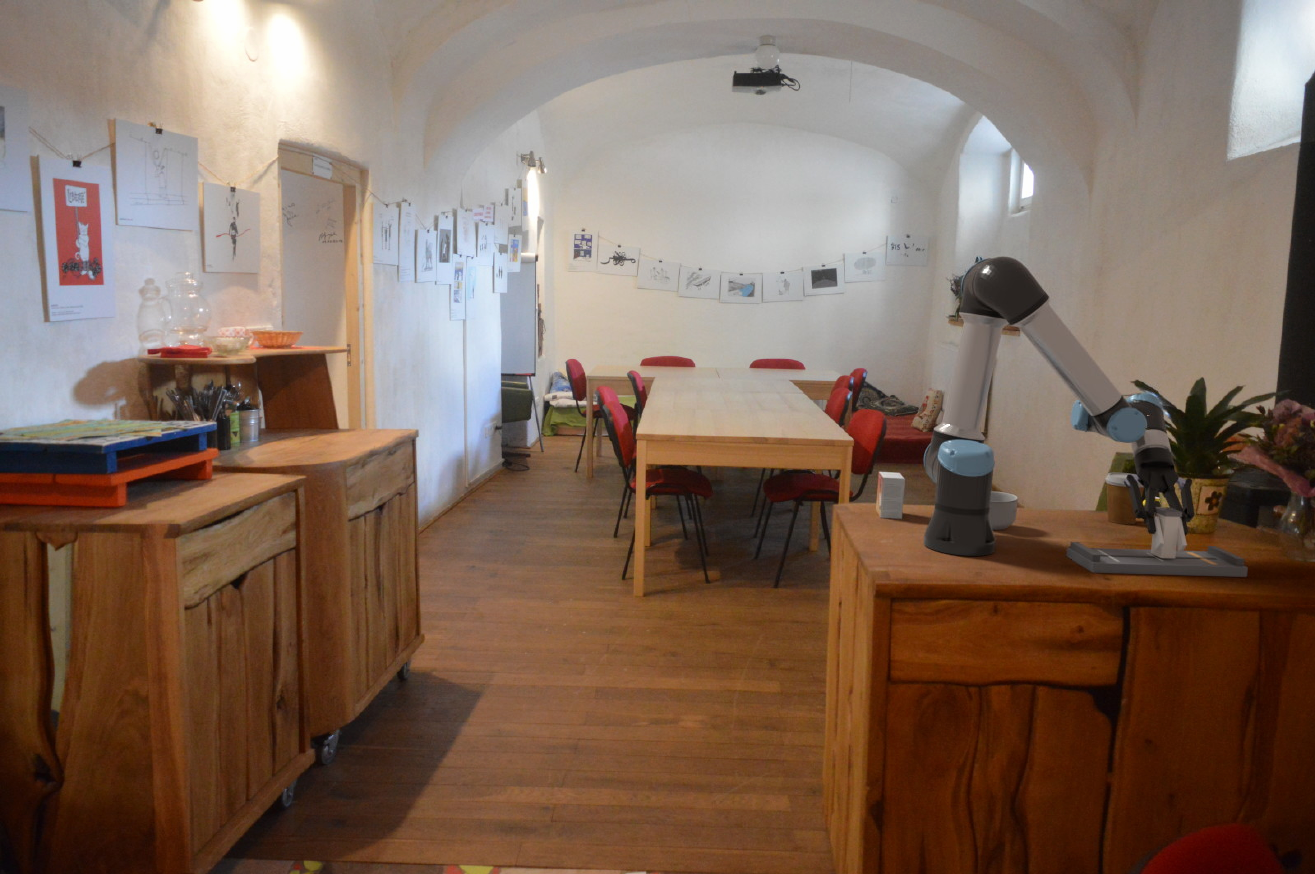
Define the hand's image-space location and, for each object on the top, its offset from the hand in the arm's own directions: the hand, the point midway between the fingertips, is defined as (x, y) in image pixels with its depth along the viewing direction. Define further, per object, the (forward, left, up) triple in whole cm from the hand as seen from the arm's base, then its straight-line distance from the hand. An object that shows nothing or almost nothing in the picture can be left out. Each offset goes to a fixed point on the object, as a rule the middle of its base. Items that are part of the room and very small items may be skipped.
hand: (1171, 547), depth 189 cm
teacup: (-24, +37, -6) cm, 44 cm away
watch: (+23, +49, -6) cm, 54 cm away
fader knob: (+1, +4, -3) cm, 5 cm away
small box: (-47, +45, -6) cm, 65 cm away
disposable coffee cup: (+13, +45, -5) cm, 47 cm away
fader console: (-1, +4, -5) cm, 7 cm away
